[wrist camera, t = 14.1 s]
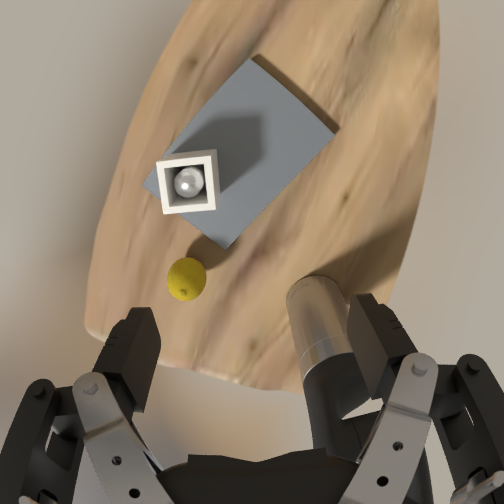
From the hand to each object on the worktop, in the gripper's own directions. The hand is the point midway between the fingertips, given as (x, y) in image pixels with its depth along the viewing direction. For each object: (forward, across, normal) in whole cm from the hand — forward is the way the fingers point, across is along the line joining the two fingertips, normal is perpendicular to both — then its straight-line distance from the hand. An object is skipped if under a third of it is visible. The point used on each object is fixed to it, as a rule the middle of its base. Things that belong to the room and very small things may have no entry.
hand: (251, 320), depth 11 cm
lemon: (+30, +9, +13) cm, 34 cm away
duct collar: (+29, +6, -1) cm, 29 cm away
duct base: (+30, +1, -2) cm, 30 cm away
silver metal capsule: (+29, +6, -1) cm, 29 cm away
